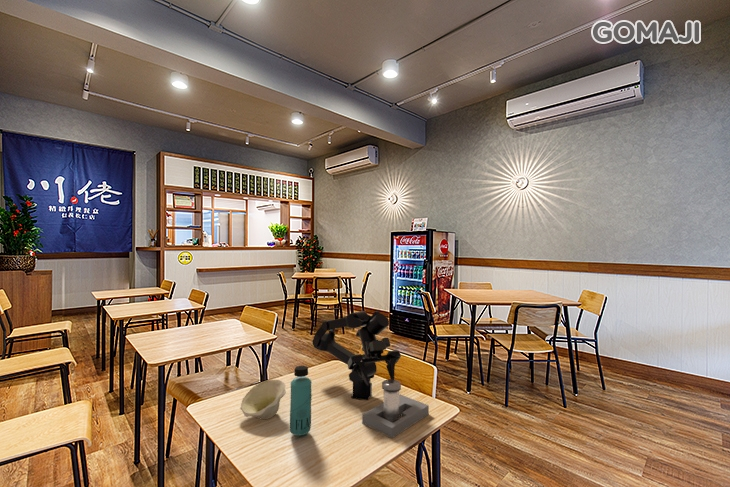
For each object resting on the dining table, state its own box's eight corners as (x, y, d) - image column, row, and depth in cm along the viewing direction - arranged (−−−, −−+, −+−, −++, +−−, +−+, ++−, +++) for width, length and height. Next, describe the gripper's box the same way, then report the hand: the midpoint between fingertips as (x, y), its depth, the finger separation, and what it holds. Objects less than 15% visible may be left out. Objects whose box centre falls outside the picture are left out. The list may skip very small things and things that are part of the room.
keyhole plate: (391, 438, 97) (391, 428, 98) (362, 423, 106) (362, 413, 106) (428, 414, 112) (428, 405, 112) (400, 402, 120) (400, 394, 120)
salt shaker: (383, 429, 102) (383, 387, 102) (380, 419, 108) (380, 379, 108) (402, 428, 103) (402, 386, 103) (398, 419, 109) (398, 379, 109)
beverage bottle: (292, 443, 94) (293, 372, 95) (286, 431, 100) (287, 365, 100) (314, 437, 97) (315, 369, 98) (307, 426, 103) (308, 362, 103)
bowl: (231, 416, 109) (232, 385, 109) (269, 402, 119) (270, 374, 119) (255, 434, 99) (255, 400, 99) (294, 417, 109) (294, 386, 109)
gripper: (350, 331, 114) (361, 375, 103) (399, 327, 120) (414, 368, 110) (343, 348, 121) (352, 391, 110) (389, 343, 128) (402, 383, 117)
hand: (381, 383), depth 112 cm, fingers open, 9 cm apart
